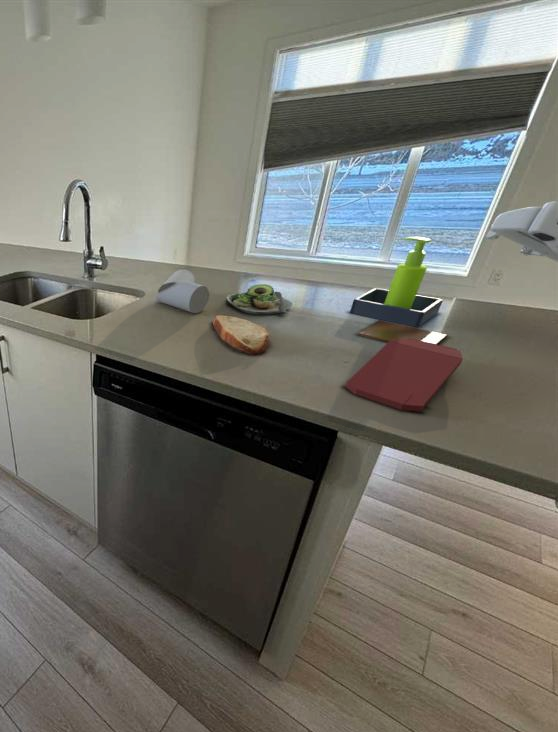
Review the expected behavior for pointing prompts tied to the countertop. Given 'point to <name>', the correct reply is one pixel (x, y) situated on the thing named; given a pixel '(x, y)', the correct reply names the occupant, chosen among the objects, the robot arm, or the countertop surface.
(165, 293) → the elbow connector
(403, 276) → the soap dispenser
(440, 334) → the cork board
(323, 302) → the countertop surface
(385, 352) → the maroon flat slab
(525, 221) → the robot arm
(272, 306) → the salad plate
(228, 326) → the bread slice
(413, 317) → the dark blue tray
